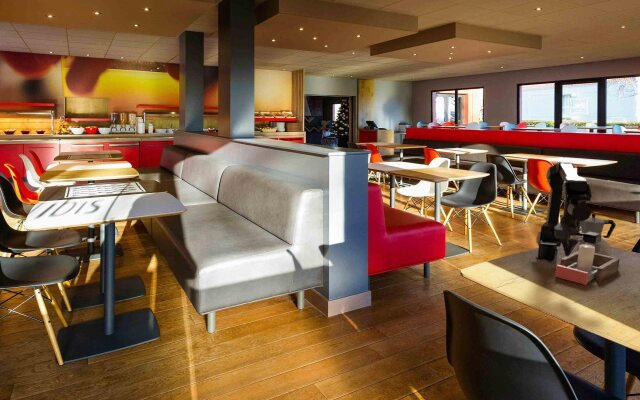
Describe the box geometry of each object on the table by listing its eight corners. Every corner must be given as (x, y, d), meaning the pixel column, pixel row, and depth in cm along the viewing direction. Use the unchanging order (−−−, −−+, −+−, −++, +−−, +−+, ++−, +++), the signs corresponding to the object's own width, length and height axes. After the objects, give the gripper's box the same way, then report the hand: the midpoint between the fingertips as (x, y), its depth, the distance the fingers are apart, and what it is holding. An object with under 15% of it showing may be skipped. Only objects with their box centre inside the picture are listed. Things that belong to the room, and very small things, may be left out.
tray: (555, 276, 174) (556, 265, 173) (573, 267, 184) (575, 256, 183) (585, 284, 165) (587, 273, 165) (603, 274, 176) (604, 263, 175)
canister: (573, 270, 178) (577, 246, 176) (579, 267, 181) (583, 243, 178) (587, 274, 174) (591, 249, 171) (593, 271, 177) (597, 247, 174)
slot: (559, 270, 180) (561, 258, 179) (578, 261, 192) (580, 249, 191) (600, 281, 169) (601, 268, 168) (618, 270, 181) (619, 258, 180)
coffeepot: (573, 253, 201) (578, 214, 198) (570, 247, 210) (575, 209, 206) (614, 258, 196) (619, 217, 193) (608, 251, 205) (614, 212, 201)
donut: (610, 262, 191) (613, 239, 189) (607, 263, 189) (610, 240, 187) (584, 256, 199) (587, 234, 197) (581, 257, 196) (584, 235, 194)
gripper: (535, 212, 163) (531, 254, 166) (591, 223, 149) (586, 268, 152) (549, 208, 170) (545, 248, 173) (604, 217, 156) (599, 261, 159)
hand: (567, 256), depth 164 cm, fingers closed
